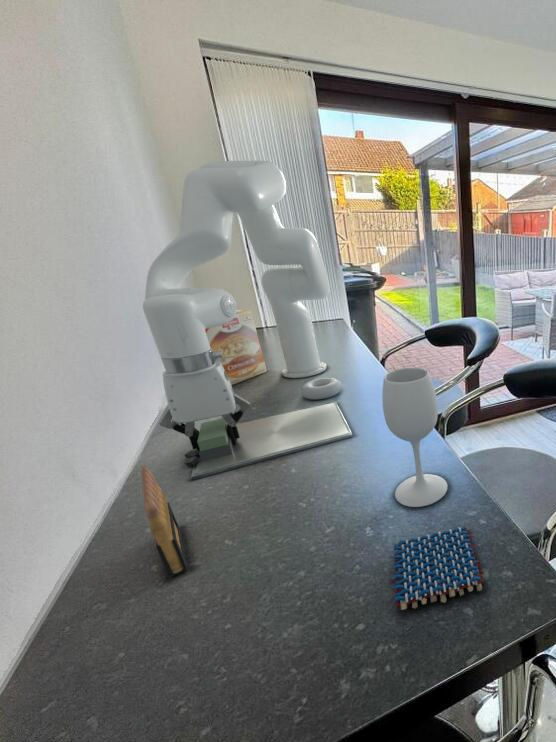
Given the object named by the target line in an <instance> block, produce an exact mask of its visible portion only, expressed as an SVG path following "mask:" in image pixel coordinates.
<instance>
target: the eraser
mask: <svg viewBox="0 0 556 742" xmlns="http://www.w3.org/2000/svg"><path fill="white" fill-rule="evenodd" d="M197 443H198V445H199V448H200V450H199V455H200V458H201V461H204V460H208V459H212V458H216V457H220V456H224V455H227V454H231V453H232V449H233V444H232V441H231V438H230V437H229V434H228V430H227V422H226V421H225V420H224V418H223V417H222V418H218V419H214V420H210V421H204V422H201V424H200V428H199V437H198V441H197Z"/></svg>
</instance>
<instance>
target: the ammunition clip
mask: <svg viewBox="0 0 556 742" xmlns="http://www.w3.org/2000/svg"><path fill="white" fill-rule="evenodd" d="M141 481H142V492H143V505H144V506H143V507H144V511H145V514H146V516H147V520H148V522H149V527H150V532H151V533H152V536H153V538H154V540H155V544H156V545H155V546H156V549H157V552H158V553H159V556H160V559H161V560H162V563H163V565H164V567H165V569H166V572H167V574H168V576H169V578H173V577H176V576H177V575H179V574H181V573H184V572H186V571H188V570H189V569H188V563H187V559H186V553H185V548H184V547H185V546H184V544H183V537H182V532H181V529H180V526H179V523H178V521H177V519H176V517H175V514H174V512H173V508H172V506H171V505H170V504H171V503H170V502H168V501H167V498H166V497H165V494H164V492H163V489H162V488H161V487H160V486H159V483H158V482H157V481H156V478H155V476H154V475H153V473H152V471H151V470H150V469H148V467H146V466H145V465H143V466H142V468H141Z"/></svg>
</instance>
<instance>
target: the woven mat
mask: <svg viewBox="0 0 556 742" xmlns="http://www.w3.org/2000/svg"><path fill="white" fill-rule="evenodd" d="M472 540H473V539H472V535H471V534H470V529H467V527H466V526H463V527H459V526H458V527H457V528H456V527H455V528H453V529H451V528H450V529H449V530H444V529H442V532H441V531H438V532H433V534H431V535H430V534H427V535H425V534H424V535H422V536H421V537H419V536H417V537H412V538H410V539H409V540H408V539H405V540H404V539H402V540H400V541H399V542H397V543H394V545H393V551H396V552H394V554H393V559H394V565H393V566H394V567H393V568H394V569H395V571H394V579H395V583H394V584H395V586H394V589H395V601H396V603H395V607H396V608H399V609H400V611H403V610H407V609H408V607H409V605H410V604H411V608H412V609H415V610H416V609H417V608H418V607H419V605H418V604H419V603H418V601H421V605H426V604H427V602H428V599H427V598H430V603H435V602H437V600H438V599H437V596H439V599H440V603H444V604H445V603H447V595H449V598H451V597H452V598H453V597H455V596H456V594H457V593H458V594H459V596H460V597H462V596H463V595H465V592H464V589H467V592H469V593H470V592H473V590H474V586H475V588H476V591H477V592H481V591H482V590H483V586H482V584H483V583H485V580H484V578H483V570H482V569H479V568H480V564H479V563H480V561H479V560H478V559H477V554H476V550H475V545H474V544H473V543H472V542H473V541H472ZM397 569H398V570H397ZM399 601H400V602H399Z"/></svg>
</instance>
